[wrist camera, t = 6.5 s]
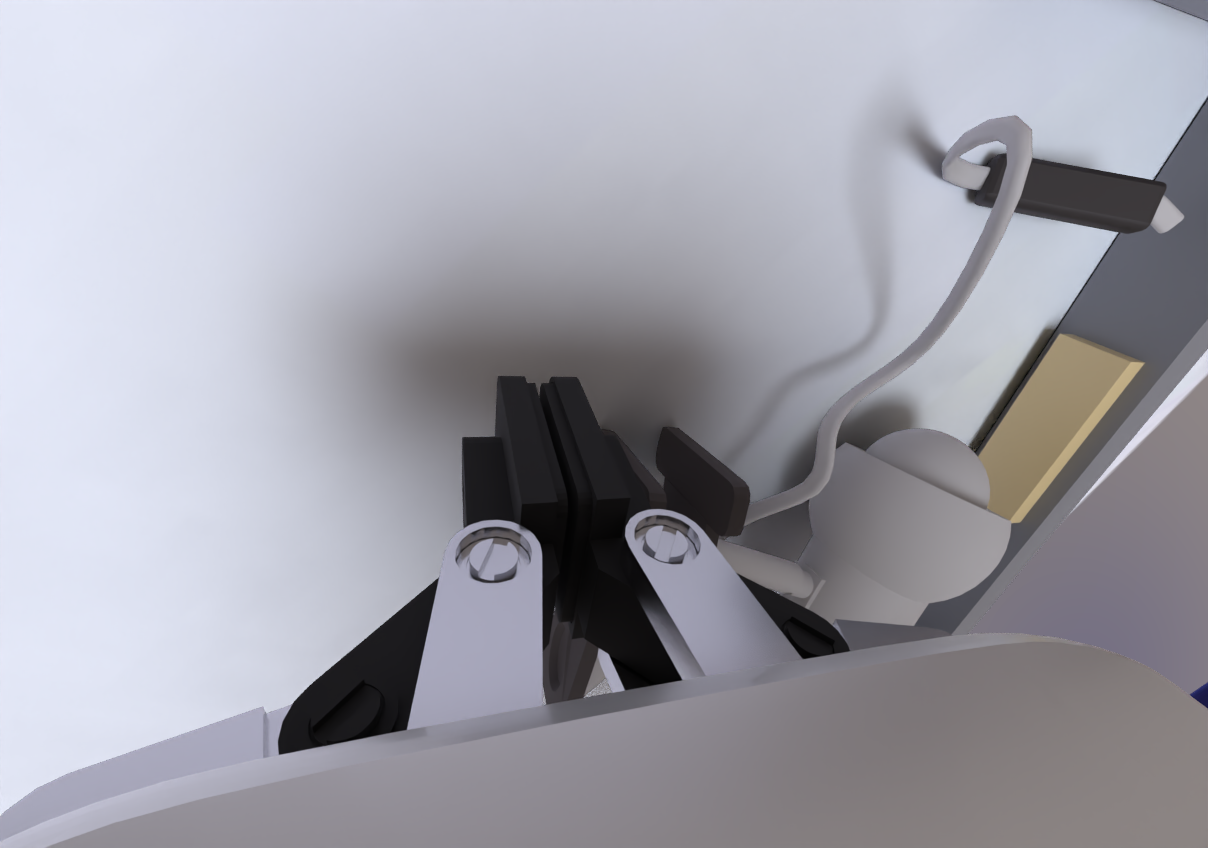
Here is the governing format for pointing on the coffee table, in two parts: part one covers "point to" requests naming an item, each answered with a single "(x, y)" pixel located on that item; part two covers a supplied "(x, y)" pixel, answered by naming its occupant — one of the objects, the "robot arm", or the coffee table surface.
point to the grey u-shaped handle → (1098, 374)
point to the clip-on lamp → (883, 444)
